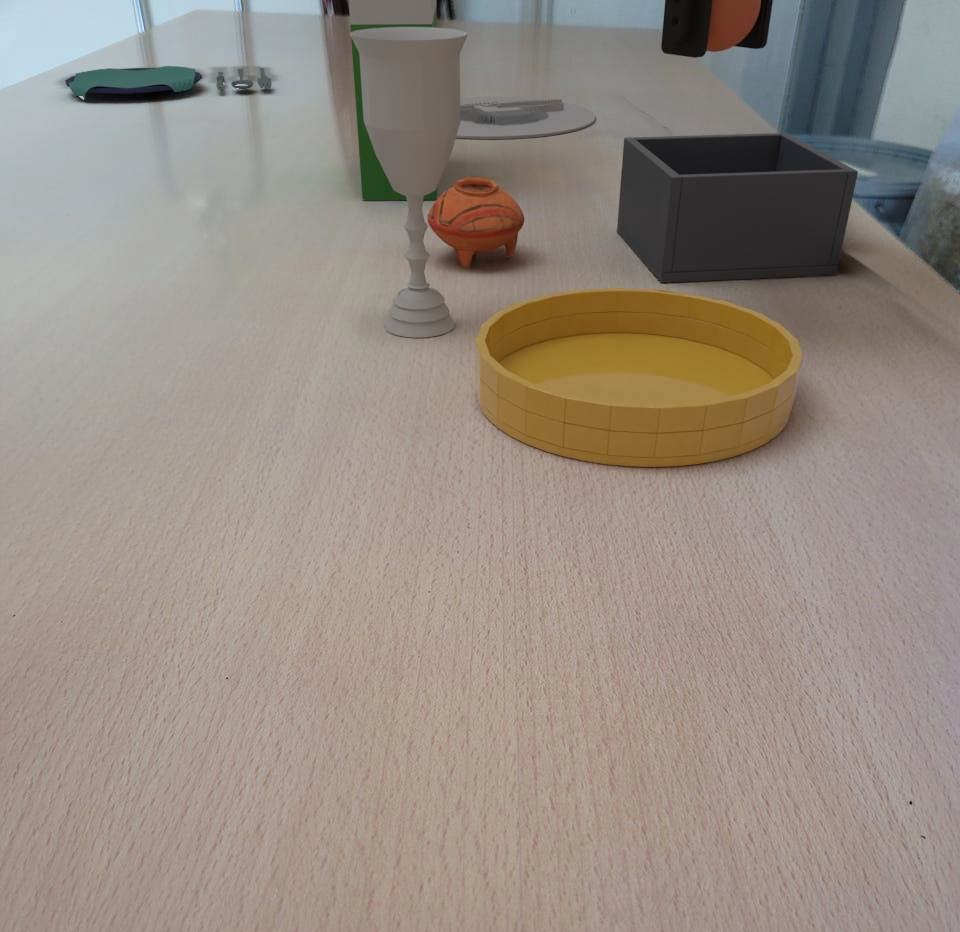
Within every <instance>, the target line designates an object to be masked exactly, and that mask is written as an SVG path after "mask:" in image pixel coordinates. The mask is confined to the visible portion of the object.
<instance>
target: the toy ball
mask: <svg viewBox="0 0 960 932" xmlns="http://www.w3.org/2000/svg"><path fill="white" fill-rule="evenodd" d="M760 6H761V0H712V9H711V18H710V26H709V35H708V44H707V51H706V52H711V53H717V52H723V51H726V50H730V49H731V48H733V47H736V46H735V45H736V44H738V43H739V42H741V41H742V40H743V39H744V38H745V37H746V36H747V35H748V33H749V32H750V31H751V29H752V28H753V26H754V24H755V22H756V20H757V17H758V14H759V11H760Z"/></svg>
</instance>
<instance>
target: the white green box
mask: <svg viewBox="0 0 960 932" xmlns="http://www.w3.org/2000/svg"><path fill="white" fill-rule="evenodd" d="M348 10H349V11H348V12H349V25H350V33H351V32H353V31H357V30H363V29H372V28H386V27H434V28H438V15H437V14H438V13H437V12H438V11H437V0H348ZM350 39H351V53H352V54H351V55H352V69H353V83H354V84H353V85H354V96H355V97H354V98H355V99H354V100H355V111H356V125H357V140H358V141H357V142H358V155H359V168H360V169H359V170H360V183H361V184H360V185H361V197H362V200H363V199H364V200H363V201H407V199H406V196H404V195H402V194H400V193H398V192H396V191H394V190H393V188H392V186H391V184H390V182H389V180H388V178H387V176H386V174H385V172H384V170H383V168H382V166H381V164H380V162H379V160H378V158H377V156H376V154H375V151H374V148H373V146H372V143H371V140H370V137H369V134H368V132H367V129H366V126H365V123H364V118H363V102H362V87H361V71H360V56H359V52H358V50H357V48H356V46H355V44H354V41H353V39H352V37H351V36H350ZM438 190H439V185H438V186H437V188H436V190H435V191H433V192H431V193H429V194H427V195H425V196H424V198H423V201H436V200H437V199H438Z"/></svg>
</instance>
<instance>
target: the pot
mask: <svg viewBox="0 0 960 932" xmlns="http://www.w3.org/2000/svg"><path fill="white" fill-rule="evenodd" d="M427 223H428V227H430V229H431V230H432V232H433V233H434V234H435V236H437V237H438V238H439V239H440V240H441V241H442V242H443V243H445V244H446V245H447V246H449V247H450V248H452V249H453V250H454V252H457V256H458V259H459V262H460V264H461V267H462V268H470V266H471V264H472V259H473V255H474V254H485V253H491V252H492V251H495V250H497V249H501V248H502V247H504V248H505V253H506V257H507V258H511V257H512V256H513V255H514V254H515V251H516V247H517V244H518V239H519V238H518V237H519V232H520V230H521V229H522V228H523V226H524V224H525V215H524V212H523V210H522V208H521V207H520V205H519V204H518V202H517V201H516V200H515V199H514V197H512V196H511V195H510V194H509V193H508V192H507V191H505V190H504V189H502V188H500V185H499V184H497V183H496V182H495V181H493V179H491V178H488V177H481V176H480V177H479V176H470V177H464V178H463V179H459V180H458V179H457V180H456V181H454V182H453V186H451V187H449V188H448V189H446V190H445V191H444V192H442V194H441V195H439V197H437V200H434V201H433V204H432V206H431V207H430V209H429V211H428V213H427Z"/></svg>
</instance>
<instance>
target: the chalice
mask: <svg viewBox="0 0 960 932" xmlns="http://www.w3.org/2000/svg"><path fill="white" fill-rule="evenodd" d="M349 35H350V38H351V37H352V39H353V41H354V44H355V46H356V48H357V50H358V52H359V56H360V71H361V87H362V102H363V118H364V123H365V126H366V129H367V132H368V134H369V137H370V140H371V143H372V146H373V148H374V151H375V154H376V156H377V158H378V160H379V162H380V164H381V166H382V168H383V170H384V172H385V174H386V176H387V178H388V180H389V182H390V184H391V186H392V188H393V190H394V191H396V192H398V193H400V194H402V195H404V196H406V199H407V200H406V203H407V207H408V209H407V218H406V222H405V224H404V225H403V228H404V230H405V231H406V233H407V236H408V239H409V244H408V249H407V250H406V252H405V253H404V254H403V257H404V258H405V259H406V260H407V261H408V264H409V269H410V276H409V277H410V278H409V282H408V283H407V284H406V288H402V289H400V290H398V292H397V293H396V294H395V296H394V297H393V299H392V304H391V307H390V308H389V310H388V317H387V319H386V320H385V322H384V329H385V330H386V331H387V332H388V333H390V334H392V335H395V336H399V337H404V338H417V339H418V338H432V337H438V336H441V335H445V334H448V333H449V332H452V330H454V328H455V326H456V324H455V323H456V322H455V321H454V319H453V318H452V316H451V315H450V308H449V307H448V305H447V304H446V300H445V296H443V295H442V293H441V292H440V290H438V289H436V288H434V287H430V286H431V284H430V283H429V282H427V279H426V275H425V270H426V264H427V260H428V259H429V258H430V257H431V254H430V253H429V252H428V251H427V250H426V246H425V243H424V239H425V234H426V232H427V230H428V228H429V225H428V224H427V223H426V220H425V217H424V211H423V204H424V200H423V198H424V196H425V195H427V194H429V193H431V192H433V191H435V190H436V188H437V186H438V187H439V183H440V181H441V178H442V176H443V174H444V172H445V169H446V167H447V165H448V163H449V160H450V158H451V155H452V152H453V149H454V146H455V143H456V139H457V138H456V136H457V132H458V129H459V125H460V98H461V55H460V54H461V52H462V50H463V47H464V45H465V43H466V40H467V37H468V35H469V33H468V32H467V31H465V30H460V29H457V28H456V29H454V28H448V27H447V28H446V27H437V28H434V27H386V28H372V29H363V30H357V31H353V32H351V31H350V32H349Z"/></svg>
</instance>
